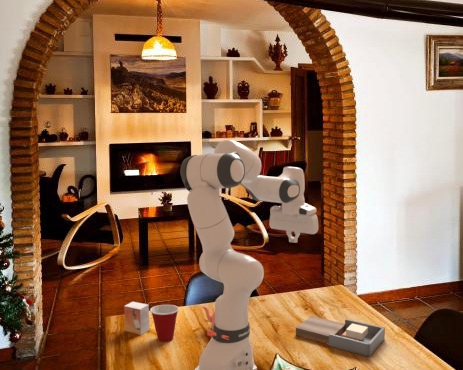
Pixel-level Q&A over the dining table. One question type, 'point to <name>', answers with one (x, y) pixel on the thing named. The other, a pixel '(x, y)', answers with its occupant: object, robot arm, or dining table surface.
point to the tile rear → (356, 331)
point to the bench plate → (319, 329)
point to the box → (359, 347)
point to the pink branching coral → (210, 316)
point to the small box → (136, 318)
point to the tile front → (350, 337)
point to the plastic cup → (164, 321)
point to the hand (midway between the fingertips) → (293, 242)
